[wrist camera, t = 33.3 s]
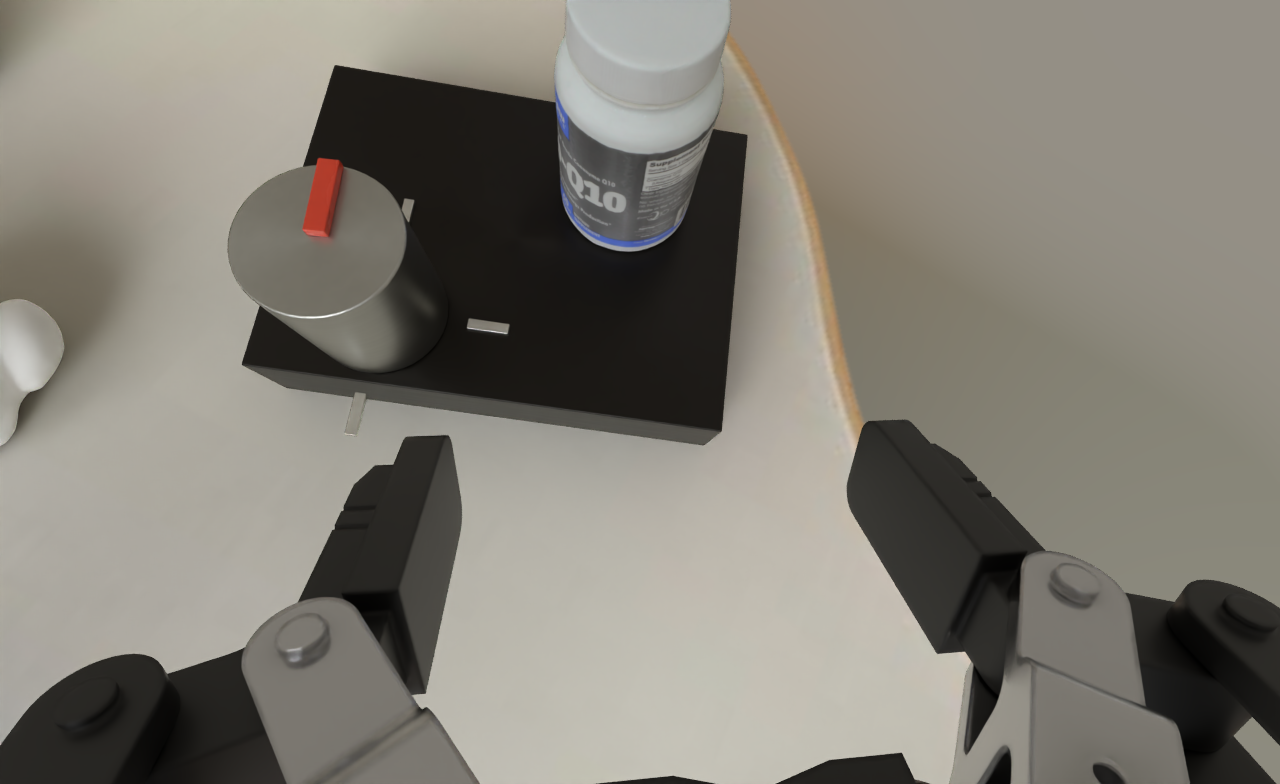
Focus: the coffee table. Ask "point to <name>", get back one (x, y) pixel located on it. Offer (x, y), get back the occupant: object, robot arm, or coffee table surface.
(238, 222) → the knob
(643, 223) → the pill bottle
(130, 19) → the coffee table surface
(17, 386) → the rabbit
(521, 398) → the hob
